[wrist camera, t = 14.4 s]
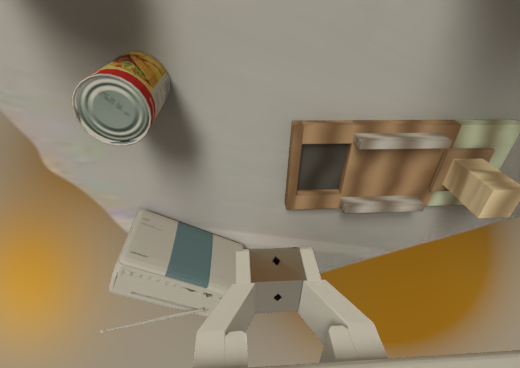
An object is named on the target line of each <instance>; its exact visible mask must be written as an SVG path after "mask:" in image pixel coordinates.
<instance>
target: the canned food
mask: <svg viewBox="0 0 520 368" xmlns="http://www.w3.org/2000/svg"><path fill="white" fill-rule="evenodd" d="M169 93H170V79H169V76H168V73H167V71H166V70H165V68H164V66H163V65H162V64H161V63H160V62H159V61H158V60H157V59H156V58H154V57H152V56H151V55H149V54H146V53H143V52H137V51H132V52H127V53H124V54H123V55H121V56H119V57H118V58H116V59H115V60H113V61H112V62H110V63H108V64H107V65H105V66H104V67H102V68H101V69H99V70H97V71H96V72H94V73H93V74H91V75H90V76H88V77H87V78H85V79H83V80H82V81H80V83H79V84H78V85H77V86H76V88H75V90H74V93H73V96H72V108H73V111H74V115H75V117H76V119H77V121H78V122H79V124H80V125H81V127H82V128H83V129H84V130H85V131H86V132H87V133H88V134H90V135H91V136H92V137H94V138H95V139H97V140H99V141H101V142H103V143H106V144H110V145H114V146H127V145H131V144H134V143H136V142H138V141H140V140H141V139H142V138H143V137H144V136H145V135H146V134H147V132H148V131H149V129H150V127H151V125H152V124H153V122H154V120H155V118H156V117H157V115H158V113H159V112H160V110H161V108H162V106H163V105H164V103H165V101H166V99H167V97H168V95H169Z"/></svg>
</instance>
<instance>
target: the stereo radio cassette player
mask: <svg viewBox="0 0 520 368" xmlns="http://www.w3.org/2000/svg"><path fill="white" fill-rule="evenodd" d="M236 249H244V247H243V245H242V244H239V243H237V242H234V241H231V240H228V239H225V238H223V237H220V236H217V235H214V234H211V233H209V232H206V231H203V230H200V229H197V228H195V227H192V226H189V225H186V224H183V223H181V222H178V221H175V220H172V219H169V218H167V217H164V216H161V215H158V214H156V213H153V212H150V211H147V210H143V209H142V210H141V211H139V212H138V213H137V215H136V217H135V220H134V222H133V224H132V227H131V229H130V231H129V234H128V236H127V239H126V241H125V243H124V246H123V248H122V251H121V253H120V255H119V258H118V260H117V262H116V265H115V268H114V271H113V275H112V278H111V282H110V285H109V291H110V292H111V293H115V294H118V295H122V296H127V297H130V298H134V299H138V300H142V301H146V302H150V303H154V304H158V305H162V306H166V307H170V308H174V309H178V310H181V311H185V312H182V313H177V314H173V315H168V316H163V317H159V318H154V319H150V320H146V321H141V322H137V323H133V324H129V325H124V326H121V327H116V328H114V329H110V330H116V329H120V328H126V327H131V326H136V325H141V324H145V323H151V322H155V321H159V320H164V319H169V318H173V317H177V316H182V315H187V314H191V313H193V314H197V315H201V316H205V317H209V315H210V314H211V312H212V311H213V310H214V308H215V307H216V306H217V304H218V303H219V301H220V300H221V299H222V297H223V296H224V295H225V293H226V292H227V290H228V289H229V288H230V286H231V285H232V284H236ZM105 331H109V330H105V329H103V330H101V333H105Z"/></svg>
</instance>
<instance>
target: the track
mask: <svg viewBox="0 0 520 368" xmlns="http://www.w3.org/2000/svg"><path fill="white" fill-rule="evenodd" d="M519 134H520V122H519V121H517V120H344V121H292V126H291V137H290V148H289V160H288V171H287V182H286V193H285V206H286V210H290V209H326V208H342V209H343V211H344V213H368V212H404V211H423V209H424V207H425V206H437V205H464V204H463V203H462V202H461V201H459V200H458V199H457V198H456V197H455V196H454V195H453V194H452V193H451V192H450V191H430V190H429V187H430V185H431V182H432V180H433V178H434V175H435V173H436V170H437V168H438V166H439V163H440V161H441V158H442V156H443V153H444V151H445V149H446V148H493V149H494V150H495V152H494V154H493V156H492V157H491V159H490V161H489V163H490V164H491V165H493V166H494V167H495V168H497V169H498V170H500V168H501V166H502V165H503V163H504V161H505V159H506V157H507V156H508V154H509V152H510V150H511V148H512V147H513V145H514V143H515V141H516V139H517V137H518V136H519Z"/></svg>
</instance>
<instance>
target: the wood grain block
mask: <svg viewBox="0 0 520 368" xmlns="http://www.w3.org/2000/svg"><path fill="white" fill-rule="evenodd" d="M494 152H495V150H494V149H493V148H446V149H445V151H444V153H443V156H442V158H441V161H440V163H439V166H438V168H437V170H436V173H435V175H434V178H433V180H432V182H431V185H430V187H429V190H430V191H450V192H451V193H452V194H453V195H454V196H455V197H456V198H457V199H458V200H459V201H461V202H462V203H463V204H464V205H465V206H466V207H467V208H468V209H469V210H470V211H471V212H472V213H473V214H474V215H475V216H476V217H477V218H500V217H510V216H511V214H512V212H513V211H514V209H515V208H516V206H517V205H518V203H519V201H520V184H518V183H517V182H515V181H514V180H512V179H511V178H510V177H508V176H507V175H505V174H504V173H502V172H501V171H500V170H498V169H497V168H495V167H494V166H493V165H491V164H490V163H489V161H490V159H491V157H492V156H493V154H494Z"/></svg>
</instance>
